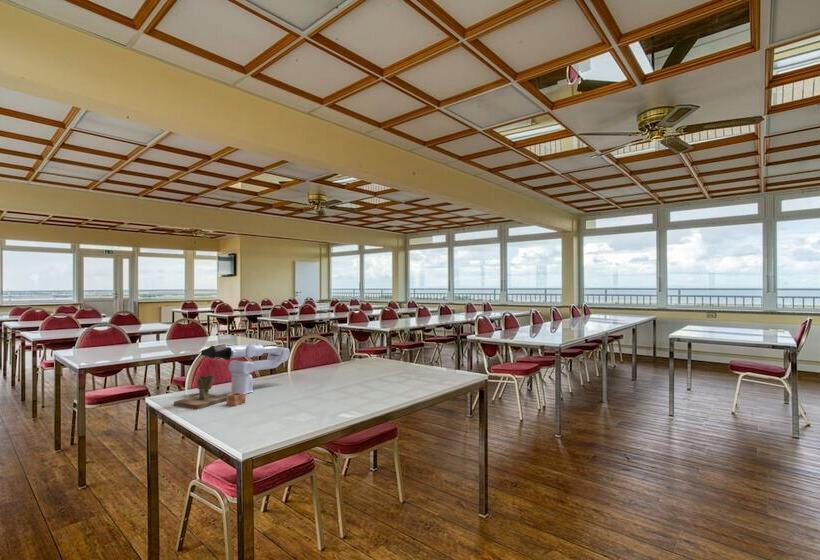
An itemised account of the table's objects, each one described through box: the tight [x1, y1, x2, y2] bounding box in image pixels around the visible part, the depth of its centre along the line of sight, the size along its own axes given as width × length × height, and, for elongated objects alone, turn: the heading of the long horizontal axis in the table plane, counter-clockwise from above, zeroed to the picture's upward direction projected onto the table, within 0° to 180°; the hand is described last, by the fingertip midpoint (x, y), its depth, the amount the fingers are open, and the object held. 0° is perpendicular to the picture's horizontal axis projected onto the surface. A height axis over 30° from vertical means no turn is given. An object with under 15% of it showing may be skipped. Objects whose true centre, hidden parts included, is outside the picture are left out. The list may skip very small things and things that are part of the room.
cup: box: [196, 374, 214, 394], centre depth 203 cm, size 8×7×8 cm
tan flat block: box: [173, 389, 227, 410], centre depth 187 cm, size 16×14×6 cm
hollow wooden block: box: [226, 392, 246, 407], centre depth 187 cm, size 5×5×4 cm
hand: (208, 353), depth 187 cm, fingers open, 7 cm apart
